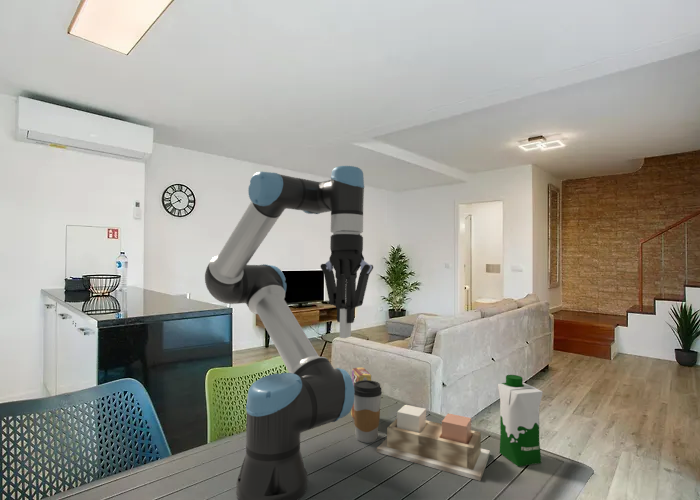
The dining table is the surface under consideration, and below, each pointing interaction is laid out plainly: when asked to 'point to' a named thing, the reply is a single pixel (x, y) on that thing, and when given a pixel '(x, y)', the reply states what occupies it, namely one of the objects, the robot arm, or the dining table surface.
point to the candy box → (359, 379)
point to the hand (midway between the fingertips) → (345, 336)
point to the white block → (411, 418)
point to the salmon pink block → (456, 428)
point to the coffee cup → (366, 410)
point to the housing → (436, 450)
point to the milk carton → (519, 421)
